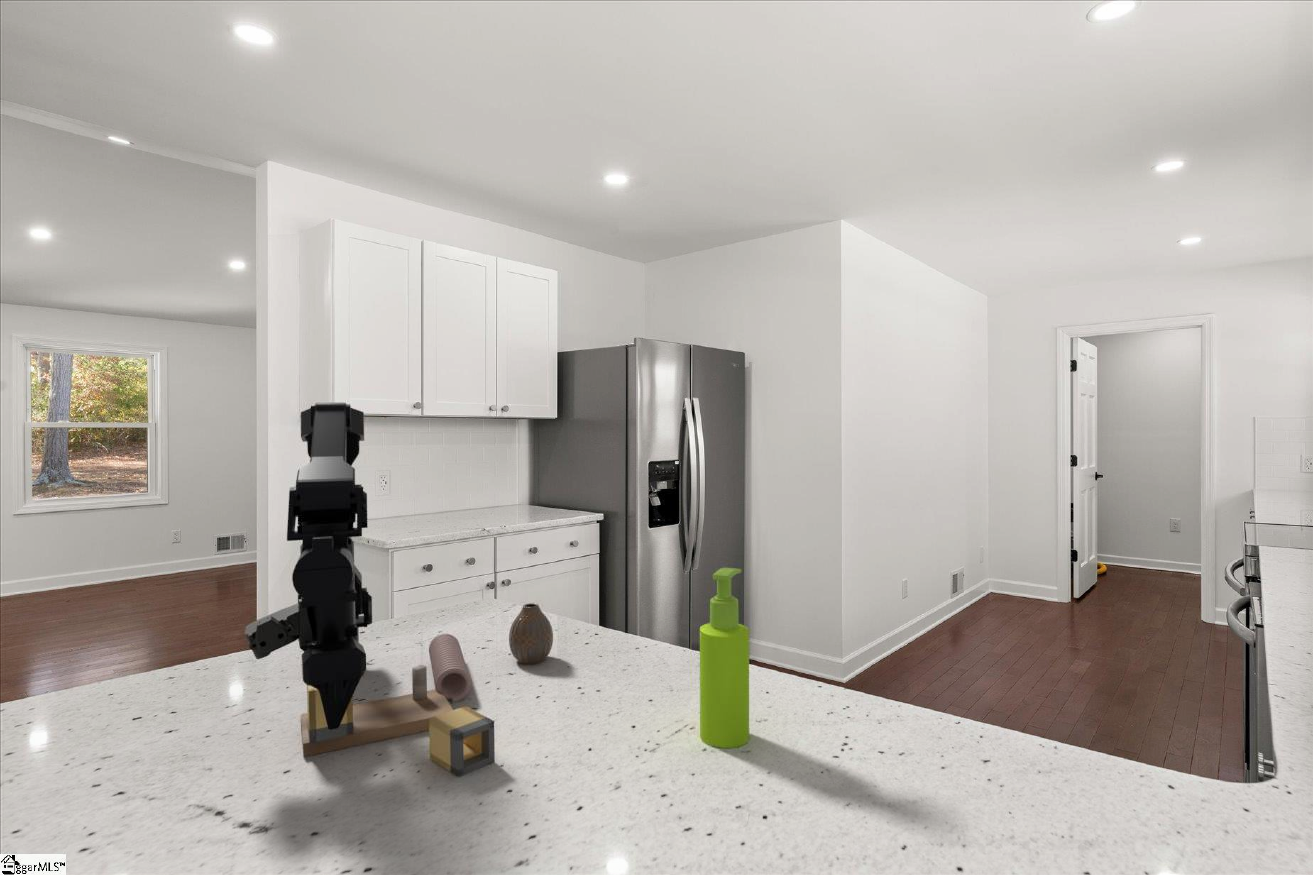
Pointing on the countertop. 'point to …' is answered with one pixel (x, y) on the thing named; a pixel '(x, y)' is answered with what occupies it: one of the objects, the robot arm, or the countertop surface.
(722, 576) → the soap dispenser
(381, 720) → the pin board
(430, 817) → the countertop surface
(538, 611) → the vase
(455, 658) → the coil
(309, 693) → the loose sleeve
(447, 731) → the tan angular part
